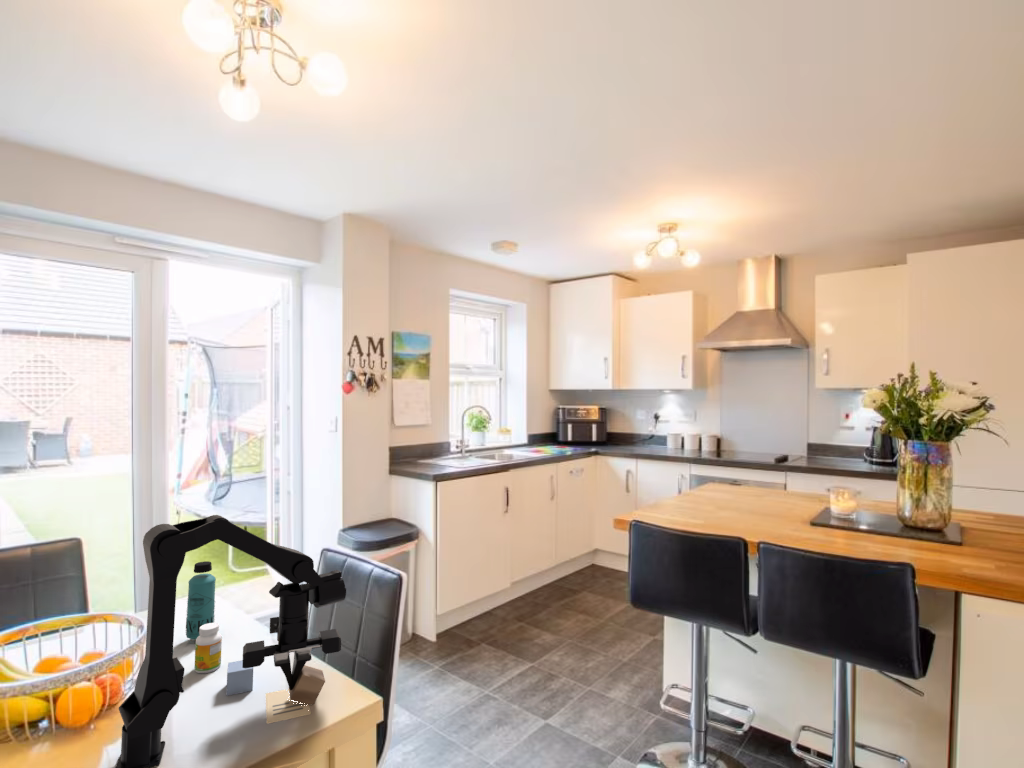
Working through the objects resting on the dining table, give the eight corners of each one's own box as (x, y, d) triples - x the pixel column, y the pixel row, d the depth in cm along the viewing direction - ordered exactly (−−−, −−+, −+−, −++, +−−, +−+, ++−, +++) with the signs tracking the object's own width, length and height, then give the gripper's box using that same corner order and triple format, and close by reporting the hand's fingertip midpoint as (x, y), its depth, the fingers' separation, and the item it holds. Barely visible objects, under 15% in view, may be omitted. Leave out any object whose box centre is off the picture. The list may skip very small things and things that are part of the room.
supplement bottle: (189, 670, 124) (190, 627, 125) (211, 660, 129) (213, 619, 129) (203, 676, 122) (205, 632, 122) (225, 666, 127) (227, 624, 127)
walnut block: (313, 705, 111) (325, 681, 112) (290, 699, 109) (302, 674, 110) (310, 693, 115) (322, 670, 116) (288, 687, 113) (300, 664, 114)
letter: (310, 714, 107) (310, 713, 107) (266, 724, 104) (266, 723, 104) (305, 686, 118) (305, 685, 118) (265, 694, 114) (265, 693, 114)
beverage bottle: (186, 636, 142) (189, 560, 143) (215, 632, 145) (217, 557, 145) (183, 647, 136) (186, 567, 137) (213, 642, 139) (216, 564, 140)
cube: (252, 691, 116) (253, 668, 116) (226, 697, 113) (227, 673, 114) (252, 681, 120) (253, 658, 120) (227, 685, 118) (228, 662, 118)
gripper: (335, 594, 123) (332, 663, 123) (244, 606, 115) (241, 680, 114) (342, 611, 113) (340, 686, 113) (243, 626, 105) (241, 707, 104)
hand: (291, 689), depth 111 cm, fingers closed, pressing on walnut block
